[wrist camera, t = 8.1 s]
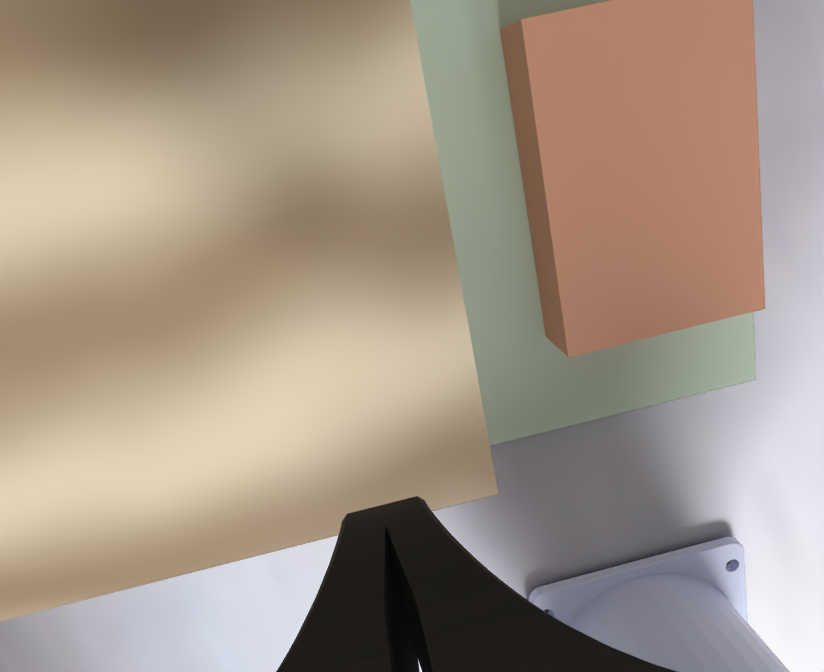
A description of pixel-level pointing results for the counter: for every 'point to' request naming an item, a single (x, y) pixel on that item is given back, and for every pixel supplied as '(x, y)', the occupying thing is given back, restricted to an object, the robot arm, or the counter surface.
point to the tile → (639, 166)
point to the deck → (219, 288)
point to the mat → (513, 253)
